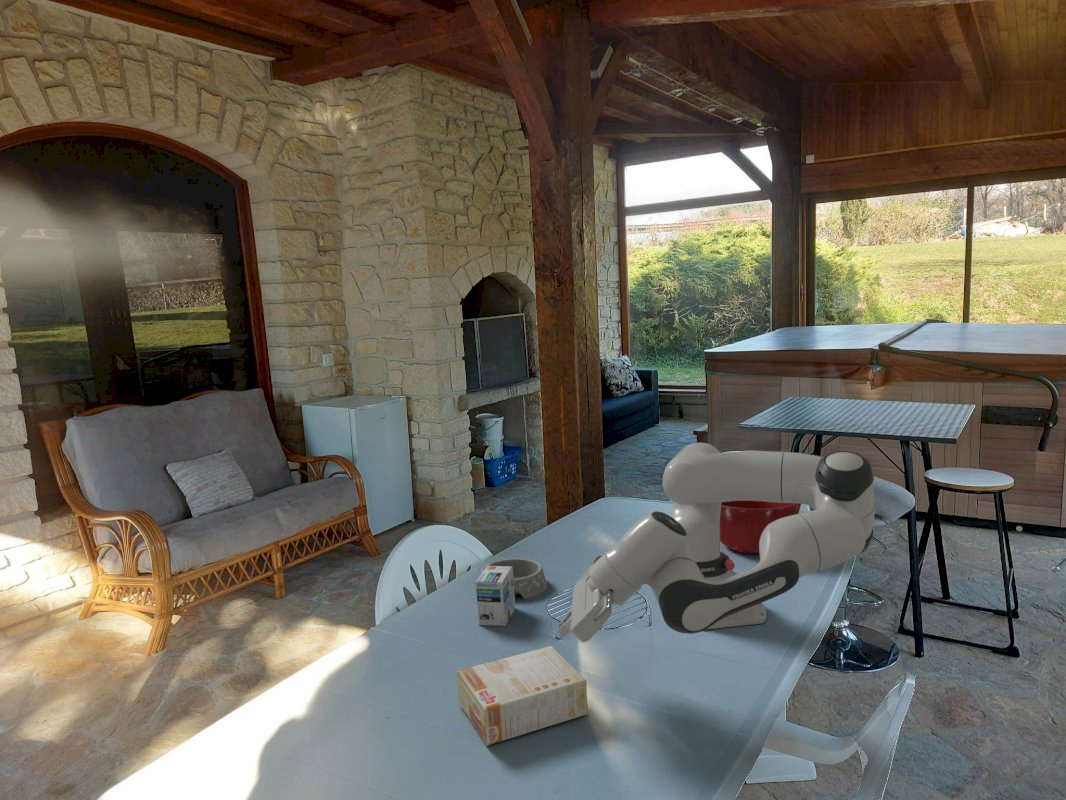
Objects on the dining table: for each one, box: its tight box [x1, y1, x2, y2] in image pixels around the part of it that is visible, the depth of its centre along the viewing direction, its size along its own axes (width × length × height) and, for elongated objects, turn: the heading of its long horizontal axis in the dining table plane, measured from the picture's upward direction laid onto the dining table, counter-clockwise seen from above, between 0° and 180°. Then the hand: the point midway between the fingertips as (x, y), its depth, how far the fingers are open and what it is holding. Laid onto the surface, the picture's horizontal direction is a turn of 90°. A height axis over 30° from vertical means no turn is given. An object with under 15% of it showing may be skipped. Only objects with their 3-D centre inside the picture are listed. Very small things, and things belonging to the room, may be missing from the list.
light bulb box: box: [475, 566, 516, 627], centre depth 175 cm, size 11×7×11 cm, turn 168°
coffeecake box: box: [456, 645, 589, 747], centre depth 134 cm, size 15×7×20 cm
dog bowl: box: [479, 557, 548, 600], centre depth 193 cm, size 17×18×5 cm
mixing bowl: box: [720, 501, 802, 555], centre depth 213 cm, size 28×28×16 cm
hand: (560, 631), depth 139 cm, fingers closed
